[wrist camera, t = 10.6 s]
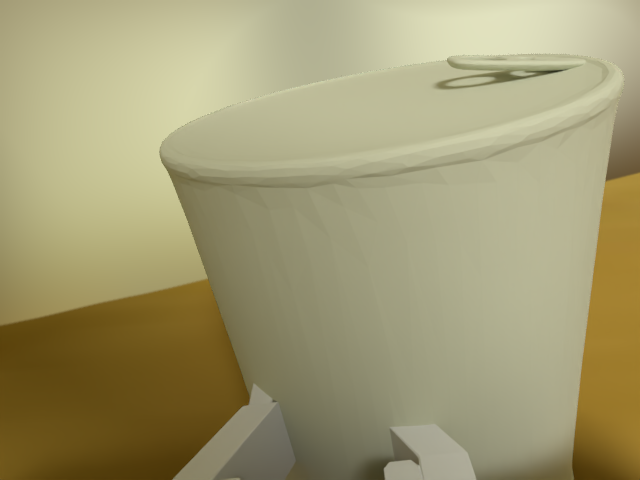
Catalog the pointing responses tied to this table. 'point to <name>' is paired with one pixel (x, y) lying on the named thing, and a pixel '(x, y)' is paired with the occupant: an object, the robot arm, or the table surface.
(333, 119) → the can
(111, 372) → the table surface
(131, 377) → the table surface
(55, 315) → the table surface
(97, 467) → the table surface
